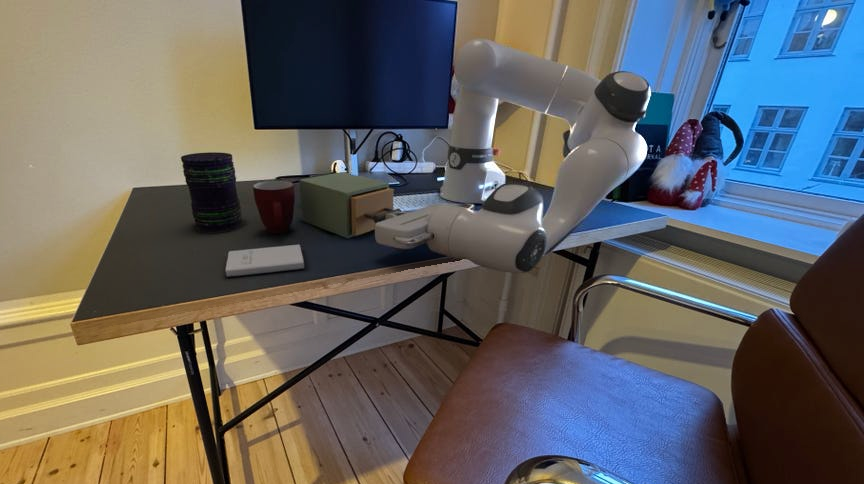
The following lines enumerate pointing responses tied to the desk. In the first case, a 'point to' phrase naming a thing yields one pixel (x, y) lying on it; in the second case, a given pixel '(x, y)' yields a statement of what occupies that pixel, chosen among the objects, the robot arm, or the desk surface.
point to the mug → (275, 204)
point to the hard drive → (264, 260)
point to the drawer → (369, 209)
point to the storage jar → (212, 191)
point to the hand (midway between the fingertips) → (390, 216)
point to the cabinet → (333, 199)
